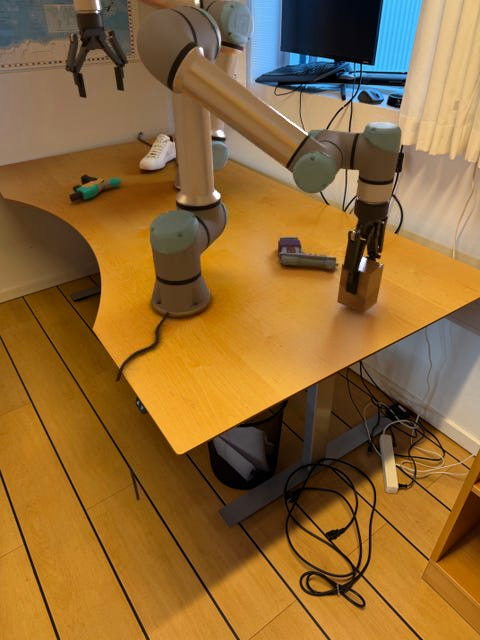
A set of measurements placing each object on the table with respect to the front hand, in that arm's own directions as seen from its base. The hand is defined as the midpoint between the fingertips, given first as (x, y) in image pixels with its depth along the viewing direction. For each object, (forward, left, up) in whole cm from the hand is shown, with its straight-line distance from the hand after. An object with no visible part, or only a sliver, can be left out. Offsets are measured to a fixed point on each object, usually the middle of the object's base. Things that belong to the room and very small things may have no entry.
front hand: (358, 286), depth 119 cm
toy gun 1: (+75, +97, -7) cm, 123 cm away
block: (0, 0, -5) cm, 5 cm away
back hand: (+53, +76, +34) cm, 99 cm away
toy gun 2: (+25, +12, -7) cm, 28 cm away
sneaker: (+112, +76, -7) cm, 135 cm away
